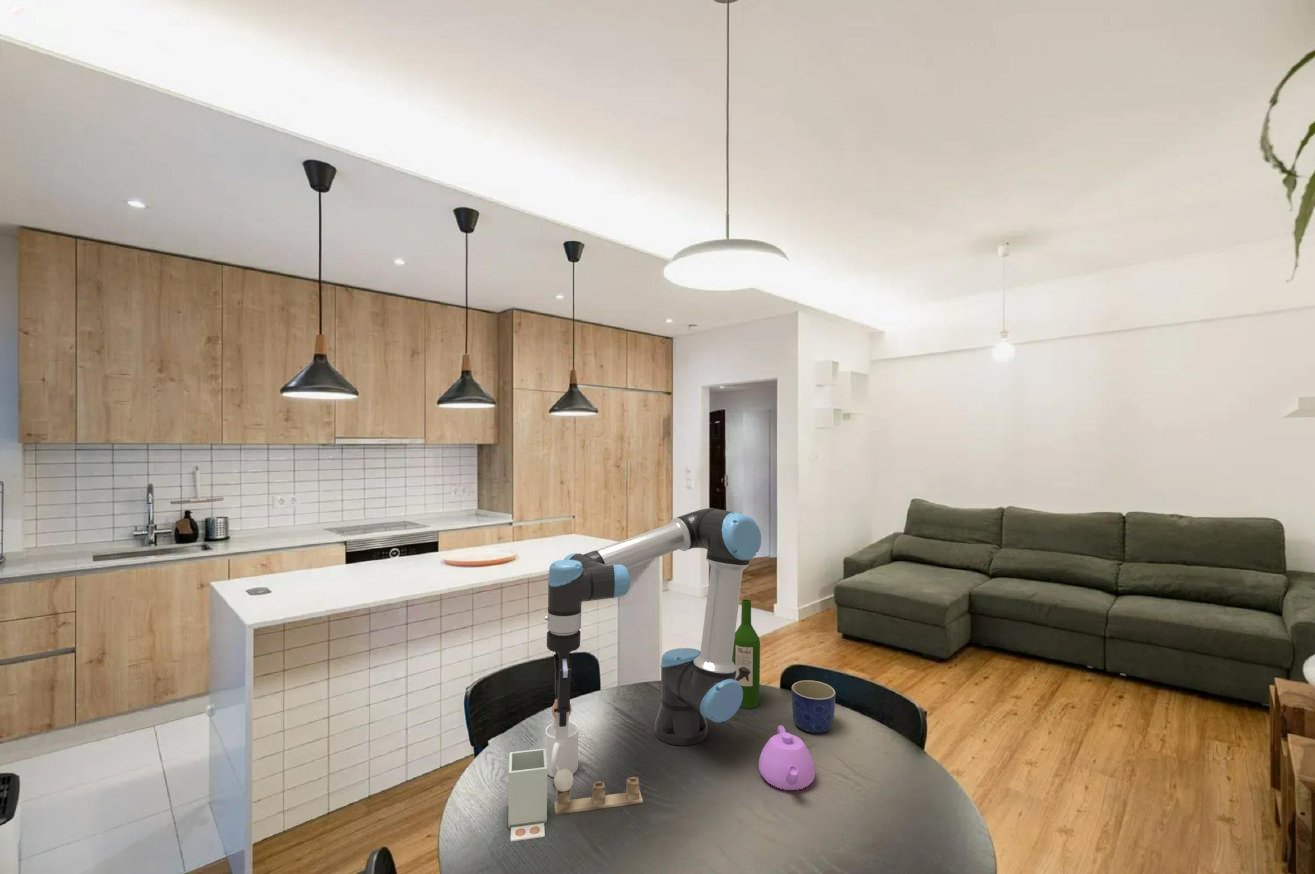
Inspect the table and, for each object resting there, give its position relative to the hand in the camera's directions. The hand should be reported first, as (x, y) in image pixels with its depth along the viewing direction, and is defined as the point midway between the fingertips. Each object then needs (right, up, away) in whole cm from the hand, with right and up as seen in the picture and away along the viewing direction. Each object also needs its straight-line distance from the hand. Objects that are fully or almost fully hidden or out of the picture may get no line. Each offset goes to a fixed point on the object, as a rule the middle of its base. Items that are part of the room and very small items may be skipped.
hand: (560, 732), depth 132 cm
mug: (-3, -18, +14) cm, 23 cm away
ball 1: (0, +3, 0) cm, 3 cm away
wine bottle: (+50, -18, +53) cm, 75 cm away
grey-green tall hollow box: (-7, -17, -1) cm, 19 cm away
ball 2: (+1, -13, +1) cm, 13 cm away
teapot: (+54, -18, +13) cm, 59 cm away
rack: (+8, -18, +2) cm, 20 cm away
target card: (-6, -18, -7) cm, 20 cm away
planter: (+67, -18, +39) cm, 80 cm away
